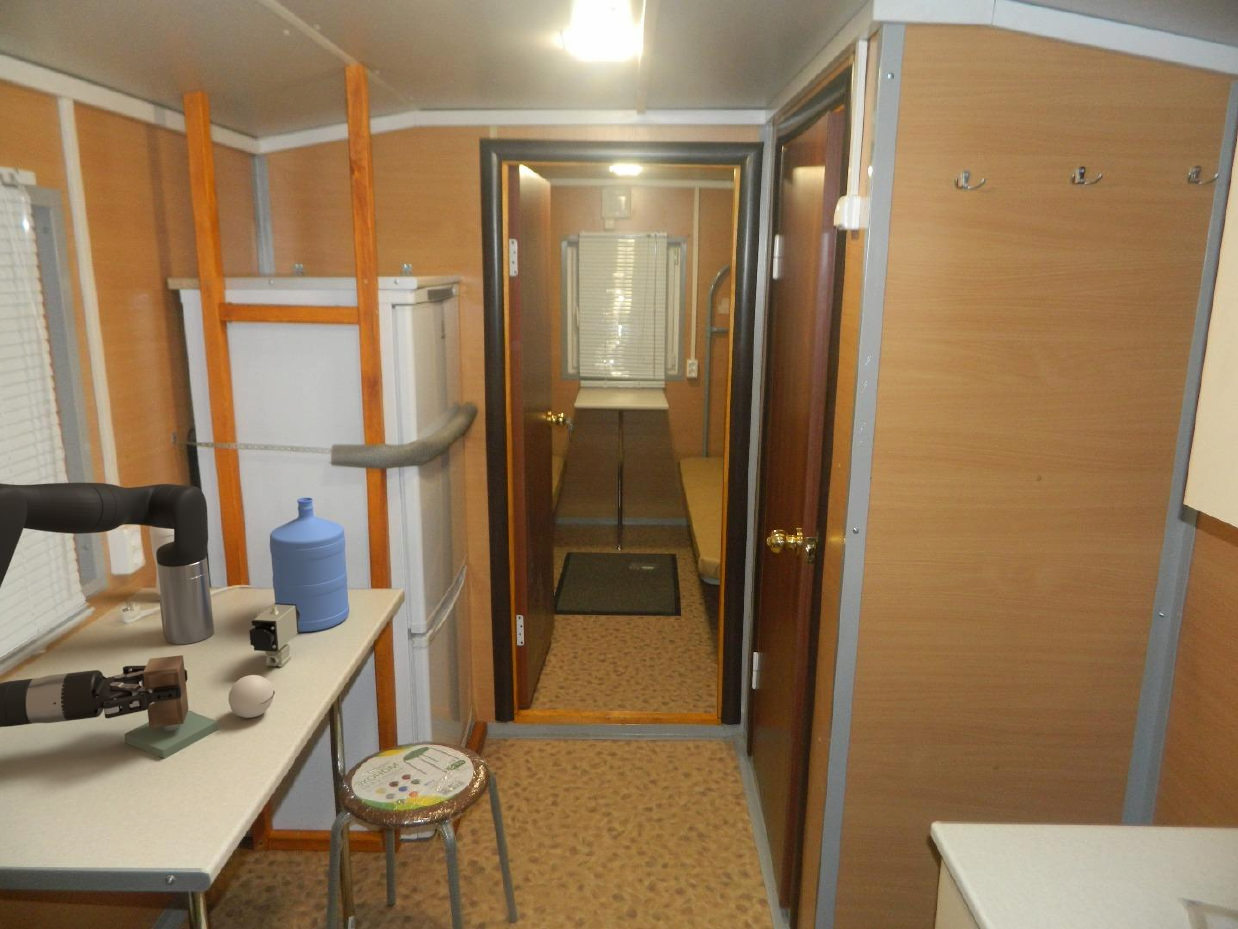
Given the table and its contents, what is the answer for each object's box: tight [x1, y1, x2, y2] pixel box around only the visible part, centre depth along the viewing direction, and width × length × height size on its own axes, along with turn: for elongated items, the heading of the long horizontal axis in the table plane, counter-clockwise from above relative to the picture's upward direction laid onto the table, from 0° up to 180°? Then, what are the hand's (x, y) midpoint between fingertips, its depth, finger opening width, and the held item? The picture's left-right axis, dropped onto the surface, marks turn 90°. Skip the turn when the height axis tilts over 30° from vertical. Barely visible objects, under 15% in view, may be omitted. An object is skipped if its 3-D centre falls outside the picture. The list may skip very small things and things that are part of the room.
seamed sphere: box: [227, 674, 275, 719], centre depth 147 cm, size 10×7×7 cm
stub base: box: [123, 709, 219, 759], centre depth 139 cm, size 10×10×8 cm
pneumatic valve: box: [249, 602, 300, 668], centre depth 164 cm, size 6×12×12 cm, turn 174°
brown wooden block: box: [143, 654, 189, 728], centre depth 137 cm, size 5×5×10 cm
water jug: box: [269, 497, 350, 633], centre depth 183 cm, size 16×16×28 cm
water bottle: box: [148, 526, 174, 596], centre depth 194 cm, size 7×7×25 cm
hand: (183, 683), depth 138 cm, fingers closed on brown wooden block, 5 cm apart
